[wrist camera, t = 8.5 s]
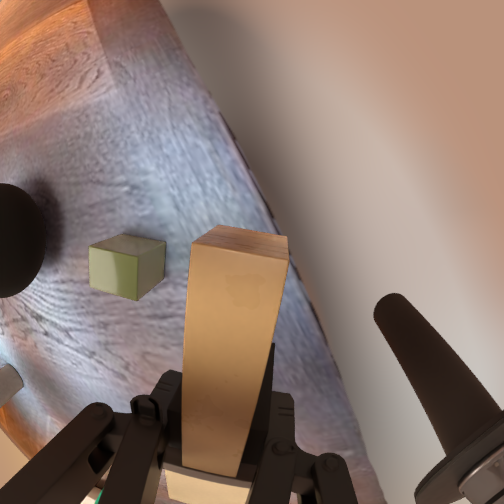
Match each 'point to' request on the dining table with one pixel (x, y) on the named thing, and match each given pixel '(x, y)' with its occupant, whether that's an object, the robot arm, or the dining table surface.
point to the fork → (226, 349)
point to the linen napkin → (203, 490)
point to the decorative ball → (19, 240)
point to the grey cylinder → (9, 383)
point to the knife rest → (126, 265)
